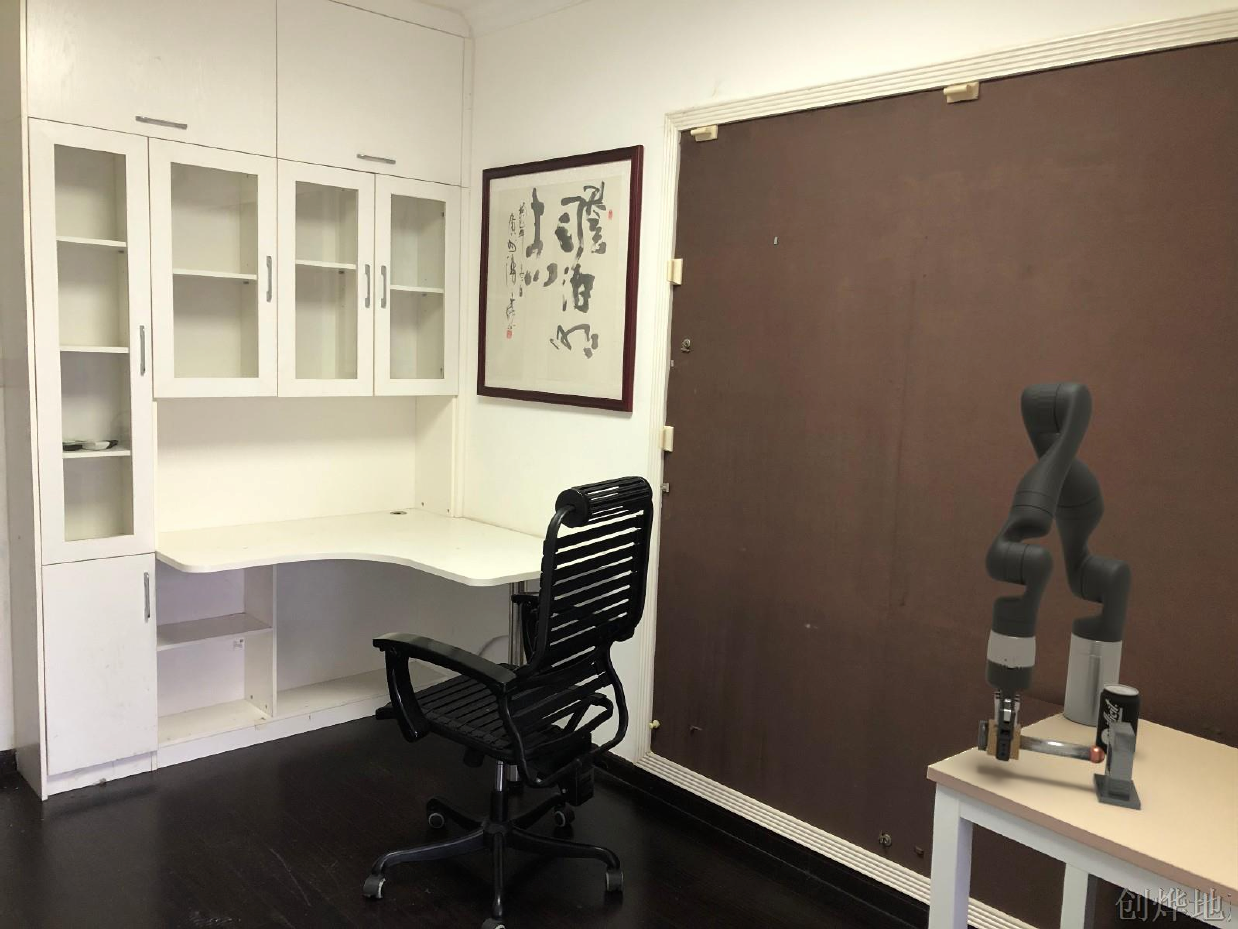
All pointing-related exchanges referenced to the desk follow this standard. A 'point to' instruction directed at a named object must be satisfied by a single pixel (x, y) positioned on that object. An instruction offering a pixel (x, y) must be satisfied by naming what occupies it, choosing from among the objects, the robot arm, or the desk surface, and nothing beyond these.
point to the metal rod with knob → (1035, 745)
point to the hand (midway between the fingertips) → (1002, 754)
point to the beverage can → (1116, 711)
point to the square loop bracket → (1118, 768)
